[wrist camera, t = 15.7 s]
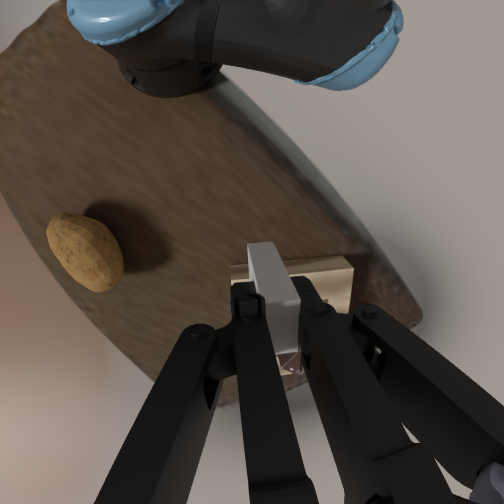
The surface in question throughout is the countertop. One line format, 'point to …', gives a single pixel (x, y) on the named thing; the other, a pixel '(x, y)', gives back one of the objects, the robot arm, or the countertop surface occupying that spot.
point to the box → (291, 362)
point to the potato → (86, 250)
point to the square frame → (314, 280)
